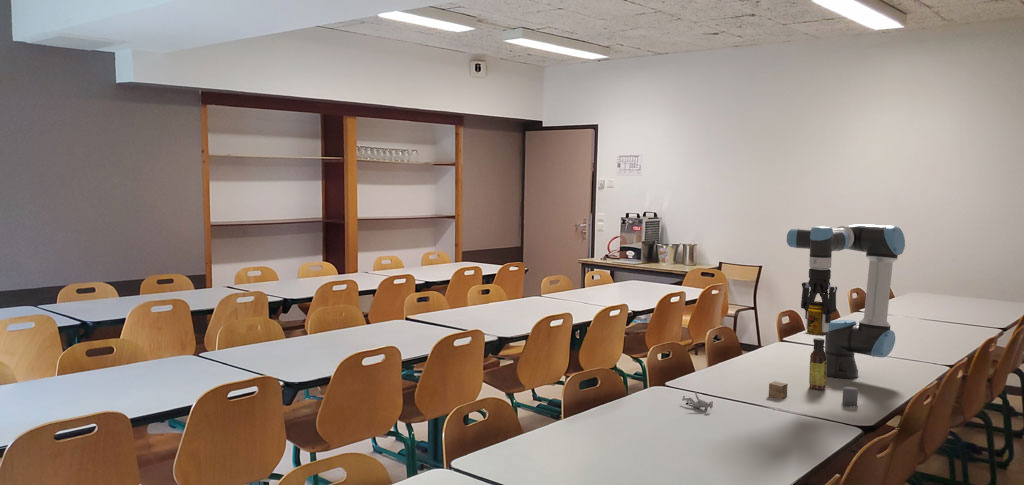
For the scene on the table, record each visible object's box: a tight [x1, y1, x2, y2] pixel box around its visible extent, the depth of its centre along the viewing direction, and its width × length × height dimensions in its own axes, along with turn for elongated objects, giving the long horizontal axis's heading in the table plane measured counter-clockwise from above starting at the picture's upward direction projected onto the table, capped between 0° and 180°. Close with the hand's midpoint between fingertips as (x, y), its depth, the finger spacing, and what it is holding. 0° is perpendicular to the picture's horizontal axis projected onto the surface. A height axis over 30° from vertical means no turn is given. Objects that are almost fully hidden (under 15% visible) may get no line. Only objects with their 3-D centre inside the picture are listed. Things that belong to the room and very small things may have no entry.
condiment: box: [803, 300, 830, 337], centre depth 272 cm, size 7×8×12 cm
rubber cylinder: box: [841, 386, 859, 408], centre depth 269 cm, size 5×5×6 cm
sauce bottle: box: [808, 337, 827, 391], centre depth 290 cm, size 6×6×20 cm
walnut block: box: [768, 380, 788, 400], centre depth 279 cm, size 5×5×5 cm
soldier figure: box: [682, 392, 714, 410], centre depth 263 cm, size 8×5×12 cm
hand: (817, 329), depth 272 cm, fingers closed on condiment, 6 cm apart
